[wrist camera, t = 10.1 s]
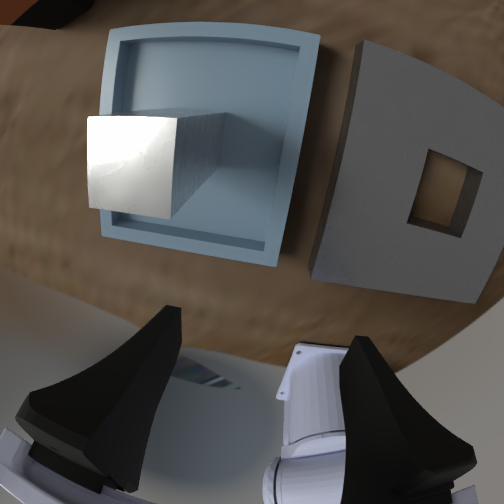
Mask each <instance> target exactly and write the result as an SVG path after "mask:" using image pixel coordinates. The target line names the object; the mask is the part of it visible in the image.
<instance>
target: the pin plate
mask: <svg viewBox="0 0 504 504" xmlns="http://www.w3.org/2000/svg"><path fill="white" fill-rule="evenodd" d="M428 149H431V150H433V151H436V152H438V153H441V154H443V155H446V156H448V157H450V158H453V159H455V160H457V161H459V162H462V163H464V164H466V165H468V166H469V167H468V170H467V174H466V177H465V181H464V184H463V188H462V191H461V194H460V197H459V200H458V203H457V206H456V209H455V212H454V215H453V218H452V220H451V223H450V226H449V227H447V226H443V225H440V224H437V223H433V222H430V221H426V220H423V219H419V218H415V217H412V216H409V214H410V211H411V208H412V205H413V202H414V199H415V195H416V192H417V189H418V186H419V182H420V179H421V175H422V172H423V168H424V164H425V160H426V156H427V152H428ZM503 247H504V107H502V106H501V105H500V104H498V103H497V102H495V101H494V100H492V99H491V98H489V97H487V96H486V95H484V94H483V93H481V92H479V91H478V90H476V89H474V88H473V87H471V86H469V85H468V84H466V83H464V82H462V81H461V80H459V79H457V78H455V77H453V76H451V75H449V74H447V73H446V72H444V71H442V70H440V69H437V68H435V67H433V66H431V65H429V64H427V63H425V62H423V61H420V60H418V59H416V58H413V57H411V56H409V55H406V54H404V53H401V52H399V51H396V50H393V49H391V48H388V47H385V46H382V45H380V44H377V43H374V42H371V41H368V40H363V41H361V42H360V43H359V44H357V45H356V48H355V55H354V61H353V67H352V73H351V79H350V85H349V91H348V96H347V102H346V107H345V112H344V117H343V122H342V127H341V132H340V137H339V142H338V147H337V151H336V156H335V160H334V165H333V169H332V174H331V178H330V182H329V186H328V191H327V195H326V199H325V203H324V207H323V211H322V215H321V219H320V223H319V227H318V230H317V234H316V238H315V242H314V245H313V249H312V253H311V256H310V260H309V264H308V266H309V273H310V279H312V280H318V281H324V282H331V283H337V284H343V285H350V286H356V287H362V288H369V289H375V290H382V291H389V292H395V293H402V294H409V295H416V296H422V297H429V298H437V299H444V300H451V301H458V302H465V303H473V304H475V303H476V301H477V299H478V298H479V296H480V294H481V292H482V290H483V288H484V287H485V285H486V283H487V281H488V279H489V277H490V275H491V273H492V271H493V269H494V267H495V264H496V262H497V260H498V258H499V256H500V254H501V251H502V249H503Z"/></svg>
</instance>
